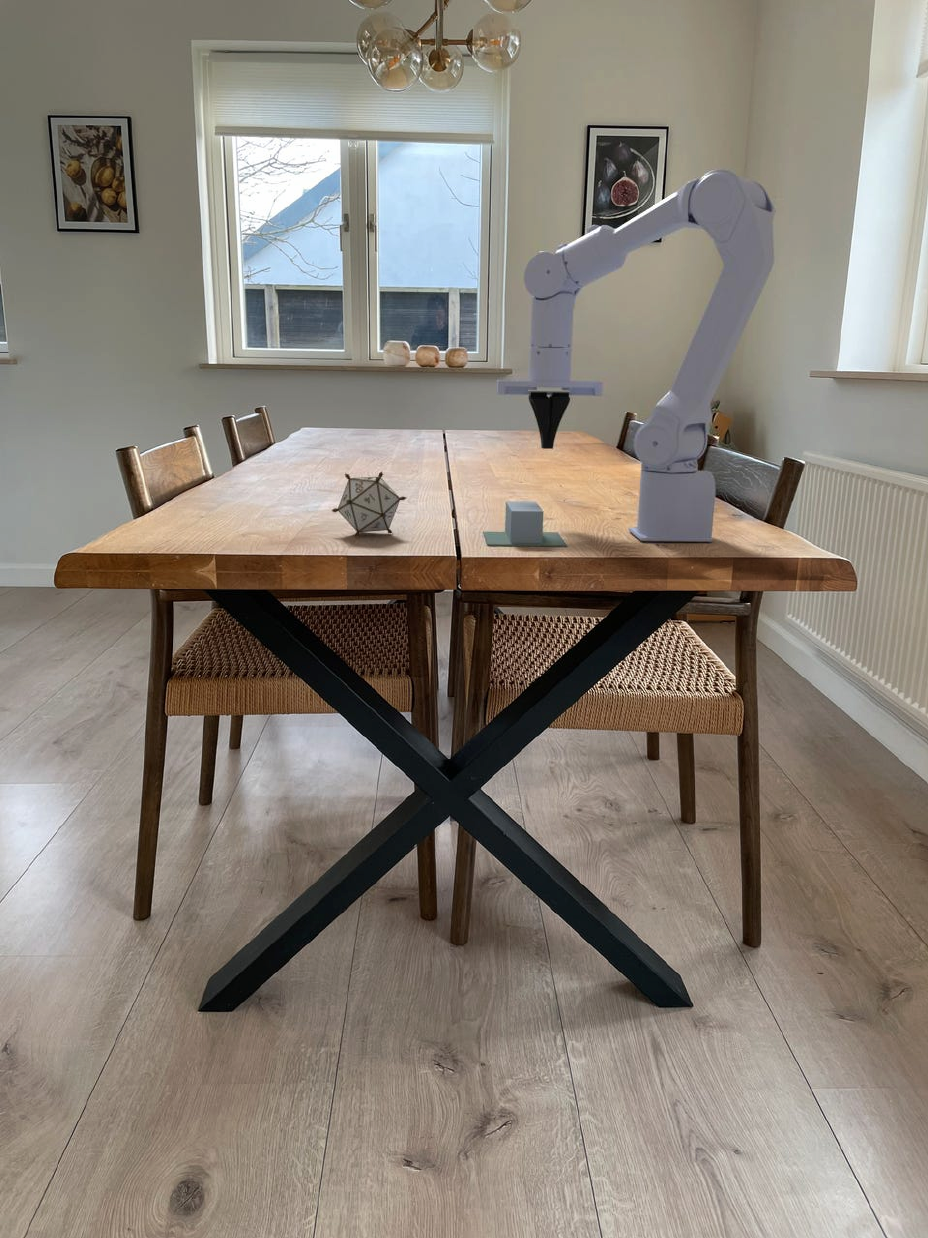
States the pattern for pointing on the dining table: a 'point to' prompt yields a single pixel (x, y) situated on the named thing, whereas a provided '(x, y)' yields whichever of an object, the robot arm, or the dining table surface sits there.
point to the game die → (368, 504)
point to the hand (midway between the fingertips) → (547, 448)
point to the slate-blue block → (524, 522)
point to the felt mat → (503, 540)
